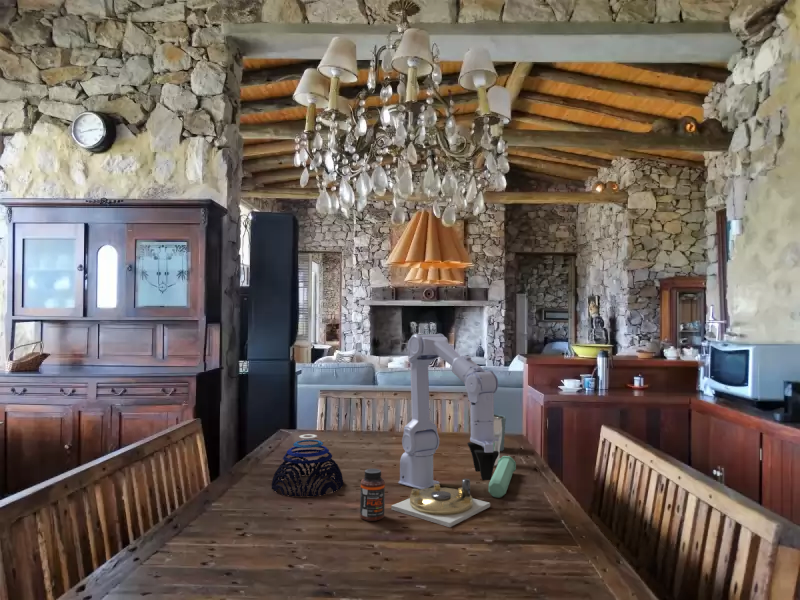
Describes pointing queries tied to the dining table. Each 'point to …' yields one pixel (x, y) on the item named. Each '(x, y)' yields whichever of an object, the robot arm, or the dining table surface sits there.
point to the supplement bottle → (372, 496)
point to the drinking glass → (503, 420)
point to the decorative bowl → (295, 462)
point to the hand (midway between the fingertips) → (482, 475)
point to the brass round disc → (442, 499)
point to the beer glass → (497, 434)
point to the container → (502, 476)
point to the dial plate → (441, 519)
